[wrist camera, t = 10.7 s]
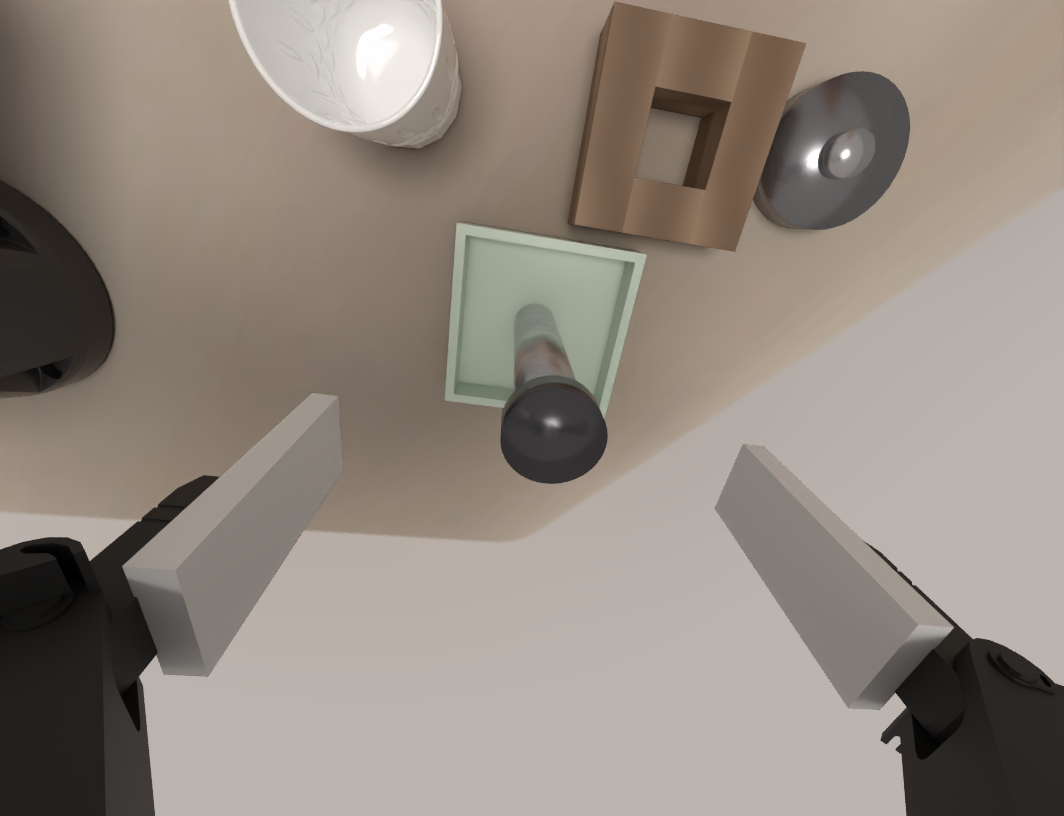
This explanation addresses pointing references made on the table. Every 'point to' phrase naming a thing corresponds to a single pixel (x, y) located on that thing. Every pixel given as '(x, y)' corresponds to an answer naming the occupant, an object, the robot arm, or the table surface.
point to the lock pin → (548, 406)
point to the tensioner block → (688, 88)
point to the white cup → (358, 64)
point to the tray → (535, 278)
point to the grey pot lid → (834, 152)
